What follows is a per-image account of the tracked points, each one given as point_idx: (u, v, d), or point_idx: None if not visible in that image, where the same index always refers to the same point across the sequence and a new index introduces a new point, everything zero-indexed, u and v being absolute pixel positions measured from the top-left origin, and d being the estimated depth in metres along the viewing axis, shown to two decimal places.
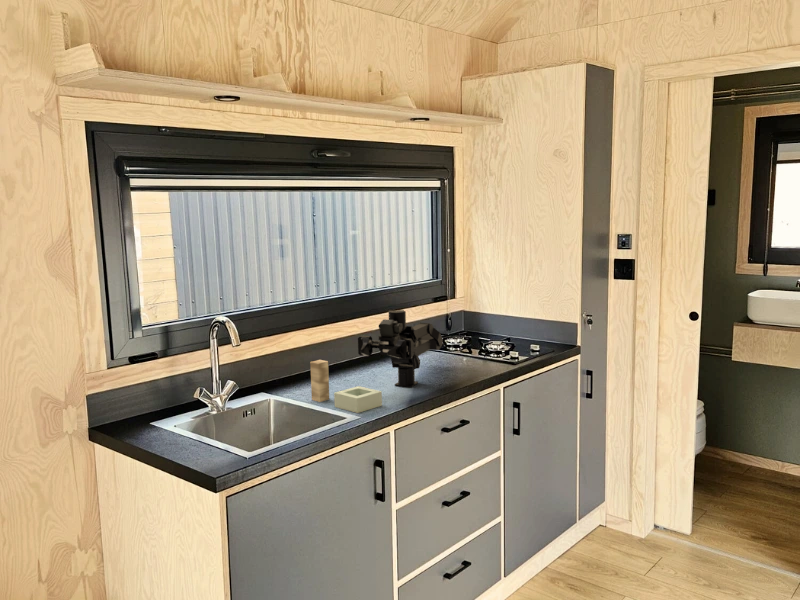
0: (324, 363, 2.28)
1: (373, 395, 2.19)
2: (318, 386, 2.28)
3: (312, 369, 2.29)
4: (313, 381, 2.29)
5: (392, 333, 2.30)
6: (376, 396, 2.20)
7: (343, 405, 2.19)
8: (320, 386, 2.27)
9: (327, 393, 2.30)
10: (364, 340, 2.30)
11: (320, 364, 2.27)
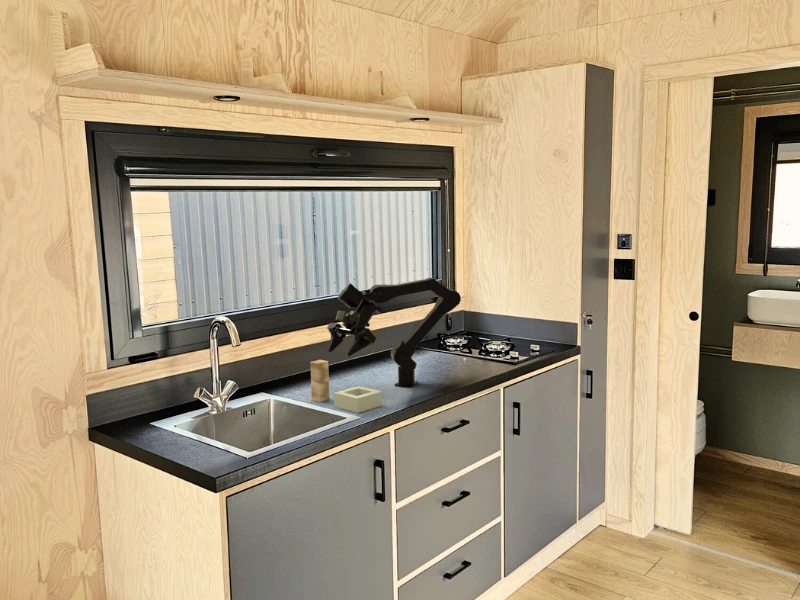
0: (324, 363, 2.28)
1: (373, 395, 2.19)
2: (318, 386, 2.28)
3: (312, 369, 2.29)
4: (313, 380, 2.29)
5: (350, 323, 2.34)
6: (376, 396, 2.20)
7: (343, 405, 2.19)
8: (320, 386, 2.27)
9: (327, 393, 2.30)
10: (331, 332, 2.40)
11: (320, 364, 2.27)
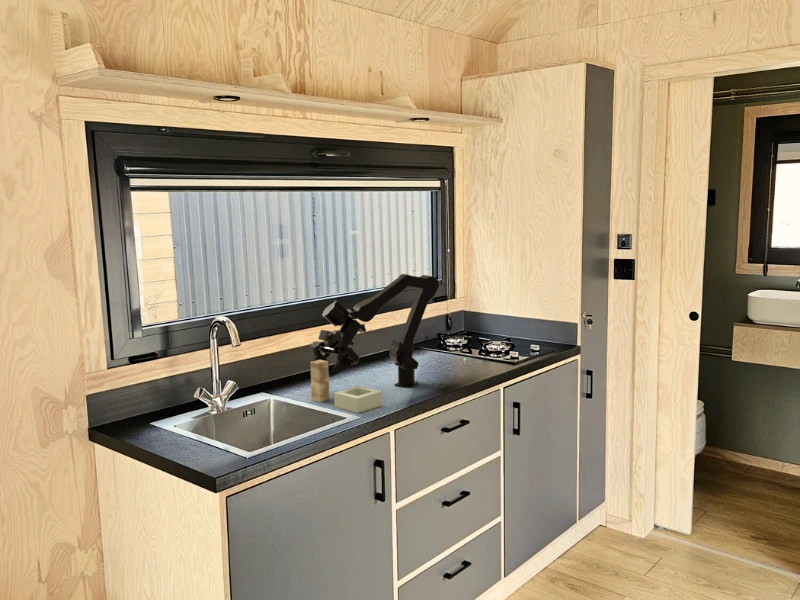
0: (324, 363, 2.28)
1: (373, 395, 2.19)
2: (318, 386, 2.28)
3: (312, 369, 2.29)
4: (313, 381, 2.29)
5: None
6: (376, 396, 2.20)
7: (343, 405, 2.19)
8: (320, 386, 2.27)
9: (327, 393, 2.30)
10: (314, 351, 2.36)
11: (320, 364, 2.27)
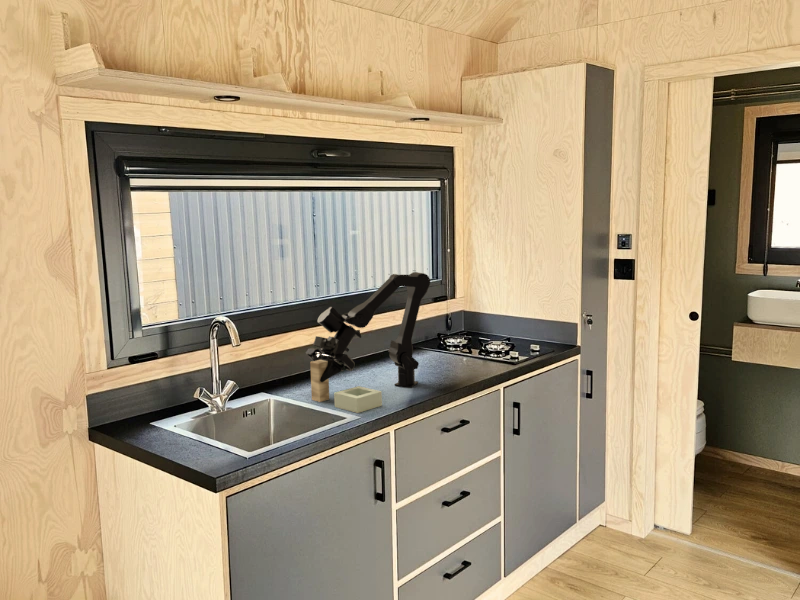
0: (324, 363, 2.28)
1: (373, 395, 2.19)
2: (318, 386, 2.28)
3: (312, 369, 2.29)
4: (313, 380, 2.29)
5: (328, 348, 2.29)
6: (376, 396, 2.20)
7: (343, 405, 2.19)
8: (320, 386, 2.27)
9: (327, 393, 2.30)
10: (314, 359, 2.33)
11: (320, 364, 2.27)
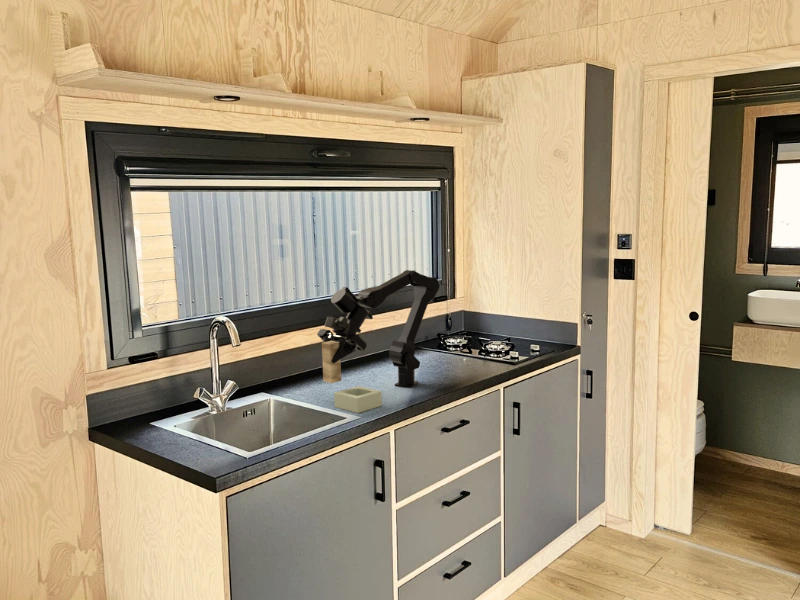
0: (336, 344, 2.24)
1: (373, 395, 2.19)
2: (329, 368, 2.24)
3: (323, 350, 2.25)
4: (325, 362, 2.25)
5: (340, 329, 2.25)
6: (376, 396, 2.20)
7: (343, 405, 2.19)
8: (331, 367, 2.24)
9: (339, 374, 2.26)
10: (326, 340, 2.29)
11: (331, 345, 2.23)
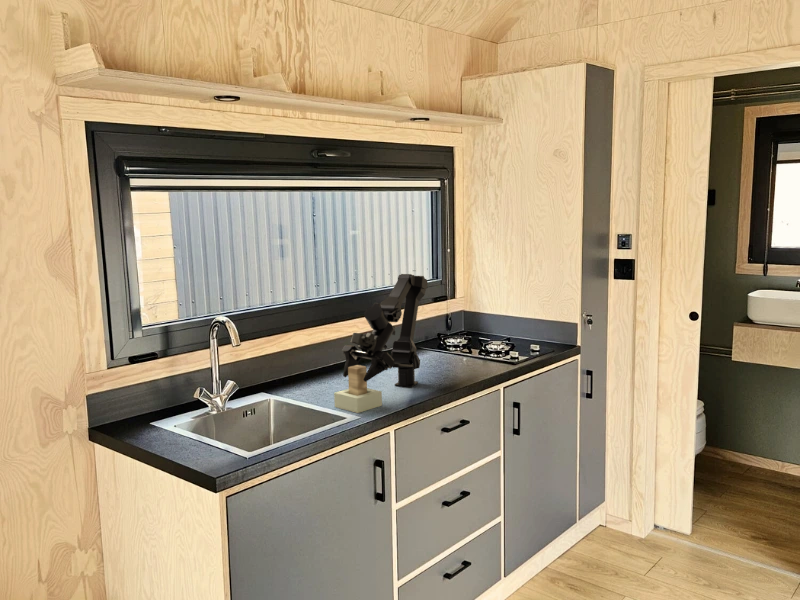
0: (362, 368, 2.19)
1: (373, 395, 2.19)
2: (356, 393, 2.19)
3: (350, 375, 2.20)
4: (351, 387, 2.20)
5: (366, 345, 2.20)
6: (376, 396, 2.20)
7: (343, 405, 2.19)
8: (358, 392, 2.19)
9: None
10: (346, 355, 2.25)
11: (359, 369, 2.18)
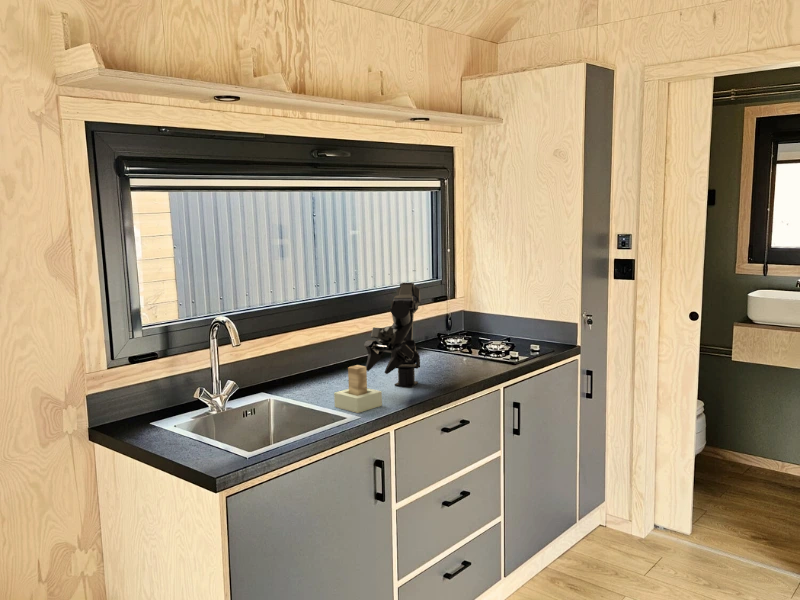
0: (362, 368, 2.19)
1: (373, 395, 2.19)
2: (356, 393, 2.19)
3: (350, 375, 2.20)
4: (351, 387, 2.20)
5: (386, 339, 2.27)
6: (376, 396, 2.20)
7: (343, 405, 2.19)
8: (358, 392, 2.19)
9: None
10: (368, 350, 2.33)
11: (359, 369, 2.18)
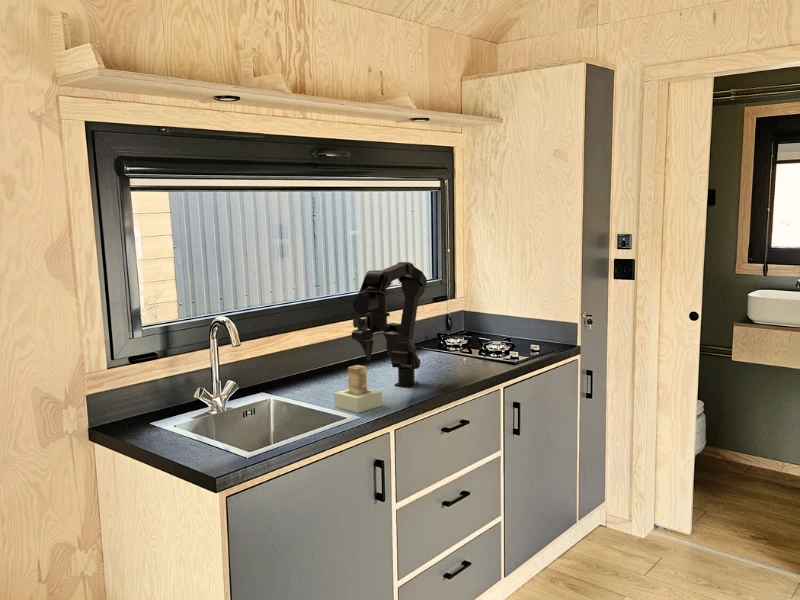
0: (362, 368, 2.19)
1: (373, 395, 2.19)
2: (356, 393, 2.19)
3: (350, 375, 2.20)
4: (351, 387, 2.20)
5: (364, 327, 2.31)
6: (376, 396, 2.20)
7: (343, 405, 2.19)
8: (358, 392, 2.19)
9: None
10: None
11: (358, 369, 2.18)
